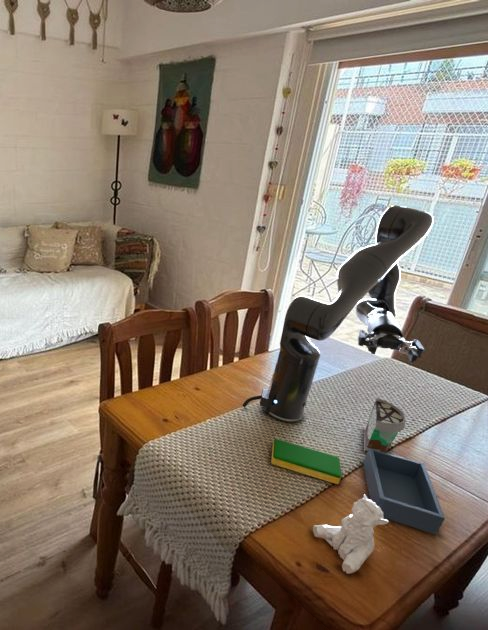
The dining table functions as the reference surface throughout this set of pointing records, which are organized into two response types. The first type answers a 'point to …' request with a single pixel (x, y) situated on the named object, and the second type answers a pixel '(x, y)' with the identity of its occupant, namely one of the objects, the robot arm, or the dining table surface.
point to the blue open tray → (403, 490)
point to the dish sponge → (306, 461)
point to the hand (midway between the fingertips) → (393, 354)
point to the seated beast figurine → (354, 533)
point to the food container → (383, 426)
